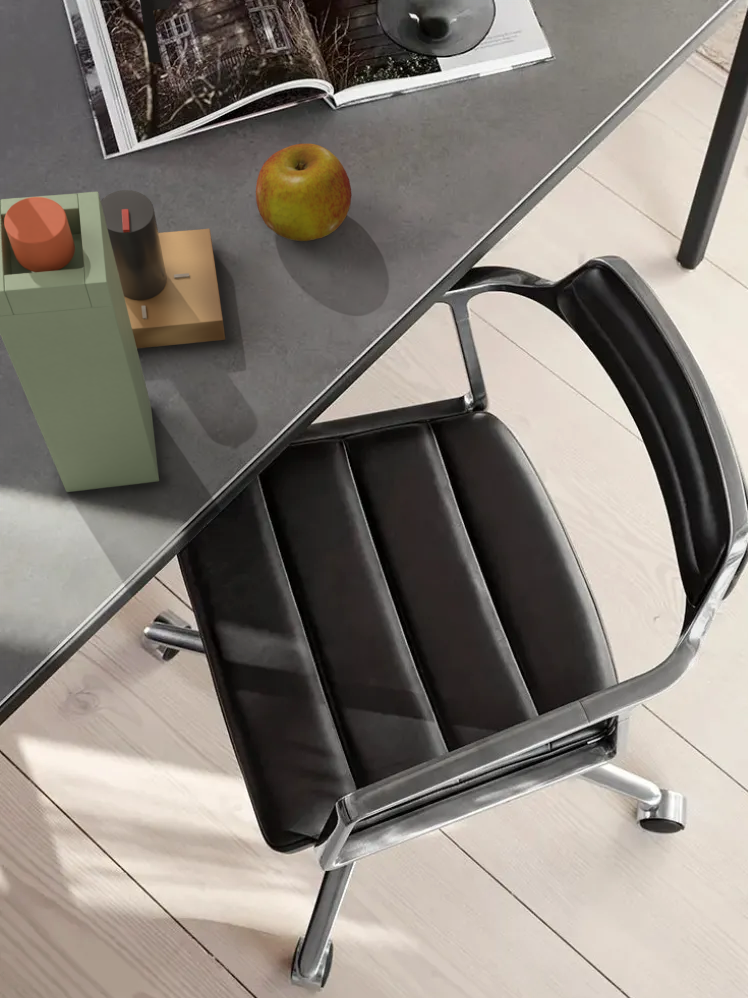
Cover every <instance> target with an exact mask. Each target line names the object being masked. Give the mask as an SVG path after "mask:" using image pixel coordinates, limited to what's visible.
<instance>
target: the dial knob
mask: <svg viewBox="0 0 748 998" xmlns="http://www.w3.org/2000/svg"><path fill="white" fill-rule="evenodd" d="M100 201H101V205H102V209H103V213H104V217H105V221H106V225H107V229H108V233H109V237H110V241H111V245H112V250H113V254H114V258H115V262H116V266H117V270H118V274H119V278H120V282H121V286H122V290H123V294H124V296H125V297H127V298H129V299H133V300H147V299H150V298H153V297H155V296H157V295H158V294H159V293H160V292H161V291H162V290H163V289H164V287H165V285H166V282H167V276H166V271H165V266H164V260H163V255H162V250H161V244H160V239H159V234H158V233H159V229H158V228H159V227H158V225H157V219H156V212H155V207H154V204H153V202H152V201H151V200H150V199H149V197H147V195H145V194H143V193H141V192H139V191H136V190H131V189H122V190H116V191H113V192H110V193H108V194H107V195H106V196H104V197H103V198H102V199H100Z"/></svg>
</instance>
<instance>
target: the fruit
mask: <svg viewBox="0 0 748 998" xmlns="http://www.w3.org/2000/svg"><path fill="white" fill-rule="evenodd" d="M255 201H256V205H257V210H258V213H259V215H260V218H261V219H262V221H263V223H264V224H265V225H266V226H267V228H268V229H270V230H271V231H272V232H274V233H275V234H277V236H279V237H282V238H285V239H286V240H291V241H296V242H308V241H314V240H318V239H323V238H324V237H326V236H329V235H330V234H332V233H333V232H335V231H336V230H337V229H338V228H339V227H340V226H341V225H342V223H343V222H344V221H345V219H346V217H347V216H348V213H349V210H350V208H351V202H352V187H351V181H350V178H349V176H348V173H347V171H346V169H345V167H344V166H343V164H342V163H341V161H340V159H339V158H338V157H337V156H336V155H334V153H333V152H331V151H330V150H329V149H327V148H326V147H323V146H321V145H319V144H315V143H297V144H292V145H289V146H286V147H284V148H281V149H279V150H278V151H276V152H274V153H273V154H271V155H270V156H269V157H268V158H267V159H266V161H264V163H263V164H262V166H261V168H260V170H259V172H258V176H257V179H256V186H255Z"/></svg>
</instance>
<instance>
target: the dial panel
mask: <svg viewBox="0 0 748 998" xmlns="http://www.w3.org/2000/svg"><path fill="white" fill-rule="evenodd" d="M158 234H159V239H160V244H161V250H162V255H163V260H164V266H165V271H166V276H167V282H166V285H165V287H164V289H163V290H162V291H161V292H160V293H159V294H158V295H157V296H155V297H153V298H150V299H147V300H133V299H129V298H127V297H125V296H124V298H125V302H126V306H127V311H128V315H129V319H130V323H131V327H132V331H133V335H134V339H135V343H136V347H137V349H147V348H156V347H166V346H175V345H186V344H196V343H206V342H214V341H225V340H226V333H225V325H224V318H223V310H222V304H221V297H220V291H219V284H218V283H219V282H218V276H217V270H216V269H217V268H216V262H215V256H214V249H213V241H212V234H211V229H210V228H202V229H189V230H178V231H177V230H176V231H165V232H158Z"/></svg>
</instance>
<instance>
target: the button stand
mask: <svg viewBox="0 0 748 998" xmlns="http://www.w3.org/2000/svg"><path fill="white" fill-rule="evenodd" d="M31 197H32V196H26V197H12V198H1V199H0V337H1V340H2V342H3V344H4V347H5V350H6V352H7V354H8V357H9V359H10V361H11V365H12V366H13V369H14V371H15V373H16V375H17V379H18V380H19V382H20V385H21V387H22V390H23V392H24V394H25V395H24V396H25V397H26V399H27V402H28V404H29V406H30V409H31V411H32V414H33V416H34V418H35V421H36V423H37V425H38V428H39V430H40V433H41V435H42V437H43V440H44V443H45V445H46V447H47V450H48V451H49V454H50V456H51V459H52V461H53V464H54V466H55V468H56V471H57V474H58V477H60V480H61V483H62V485H63V487H64V490H65V492H66V493H73V492H80V491H89V490H96V489H105V488H106V489H107V488H115V487H122V486H129V485H130V486H131V485H139V484H147V483H155V482H157V483H158V482H159V481H160V478H159V477H160V476H159V469H158V468H159V467H158V459H157V448H156V440H155V438H156V437H155V430H154V421H153V411H152V405H151V404H152V403H151V400H150V398H149V392H148V388H147V384H146V380H145V376H144V372H143V368H142V363H141V359H140V356H139V355H140V354H139V352H138V348H137V347H136V343H135V339H134V335H133V331H132V327H131V323H130V319H129V315H128V311H127V306H126V302H125V298H124V294H123V290H122V286H121V282H120V278H119V274H118V270H117V266H116V262H115V258H114V254H113V250H112V245H111V241H110V237H109V233H108V229H107V225H106V221H105V217H104V213H103V209H102V205H101V196H100V193H99V191H87V192H77V193H64V194H52V195H38V196H36V197H43V198H48V199H51V200H53V201H55V202H56V203H58V204H59V205H60V206H61V207H62V208H63V209H64V211H65V214H66V217H67V220H68V224H69V227H70V230H71V234H72V237H73V241H74V245H75V252H74V255H73V258H72V259H71V261H70V262H69V263H68V264H67V265H66V266H65V267H63V268H61V269H59V270H57V271H45V272H33V271H30V270H28V269H26V268H24V267H23V266H22V265H21V264H20V263H19V262H18V261H17V259H16V257H15V254H14V251H13V248H12V246H11V243H10V240H9V237H8V235H7V232H6V229H5V226H4V219H5V215H6V213H7V211H8V210H9V208H10V207H11V206H12V205H14V204H15V203H17V202H18V201H20V200H23V199H26V198H31Z"/></svg>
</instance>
